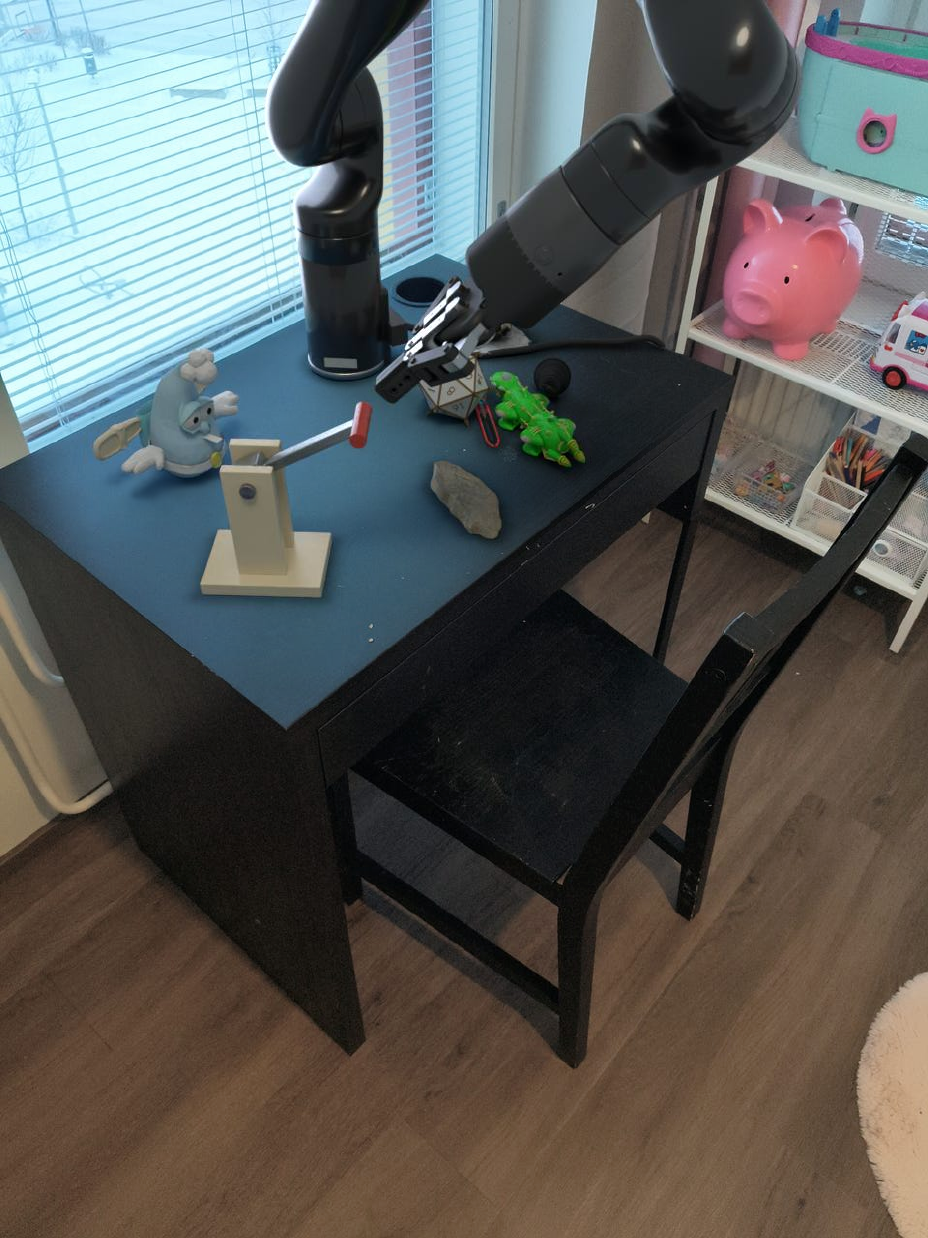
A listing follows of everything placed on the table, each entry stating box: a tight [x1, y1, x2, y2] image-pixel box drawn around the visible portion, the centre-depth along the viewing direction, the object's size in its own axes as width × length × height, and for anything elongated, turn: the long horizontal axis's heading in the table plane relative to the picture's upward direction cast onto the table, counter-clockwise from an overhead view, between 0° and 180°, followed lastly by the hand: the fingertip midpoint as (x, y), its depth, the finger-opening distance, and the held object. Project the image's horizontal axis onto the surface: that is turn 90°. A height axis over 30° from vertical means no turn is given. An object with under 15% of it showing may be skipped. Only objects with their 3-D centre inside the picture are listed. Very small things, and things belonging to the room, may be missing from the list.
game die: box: [417, 351, 496, 427], centre depth 111 cm, size 9×8×10 cm
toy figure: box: [92, 347, 240, 479], centre depth 100 cm, size 17×10×15 cm, turn 151°
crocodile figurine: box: [489, 371, 586, 468], centre depth 110 cm, size 7×18×4 cm, turn 27°
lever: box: [234, 401, 373, 475], centre depth 85 cm, size 13×5×2 cm, turn 89°
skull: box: [472, 323, 533, 358], centre depth 125 cm, size 10×12×6 cm
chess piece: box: [533, 356, 572, 398], centre depth 112 cm, size 4×4×10 cm
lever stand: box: [200, 438, 333, 598], centre depth 90 cm, size 11×8×13 cm
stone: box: [430, 460, 502, 540], centre depth 102 cm, size 13×3×5 cm
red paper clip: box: [474, 393, 501, 448], centre depth 114 cm, size 2×14×1 cm, turn 9°
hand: (383, 392), depth 81 cm, fingers closed
